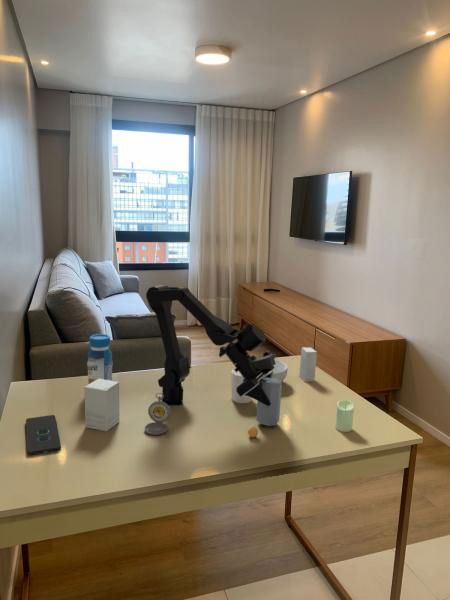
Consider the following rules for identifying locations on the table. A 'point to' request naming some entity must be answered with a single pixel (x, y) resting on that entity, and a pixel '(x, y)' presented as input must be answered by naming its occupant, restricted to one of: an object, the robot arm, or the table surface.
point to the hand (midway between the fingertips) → (273, 401)
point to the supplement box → (102, 404)
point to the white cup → (235, 382)
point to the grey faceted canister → (272, 412)
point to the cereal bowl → (279, 370)
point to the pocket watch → (158, 425)
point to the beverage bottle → (99, 358)
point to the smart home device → (42, 435)
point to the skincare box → (308, 364)
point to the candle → (344, 416)
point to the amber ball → (252, 431)
